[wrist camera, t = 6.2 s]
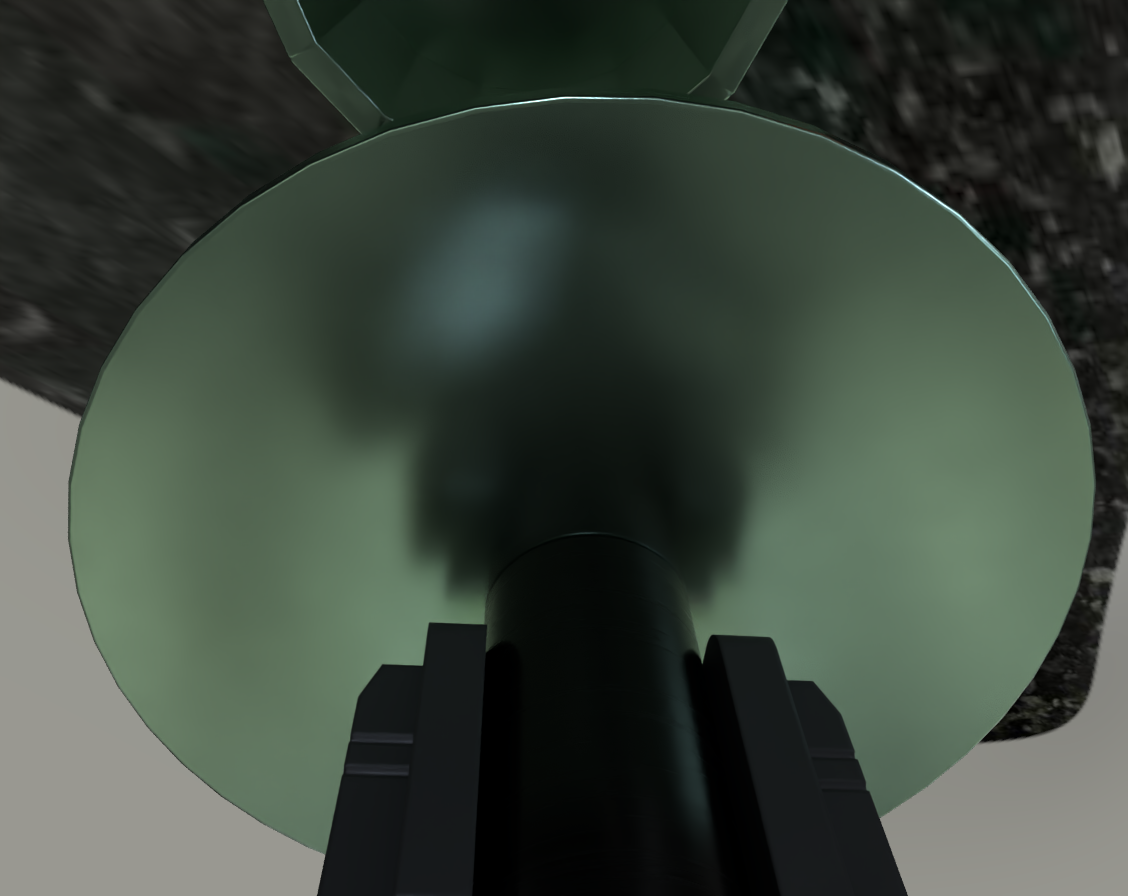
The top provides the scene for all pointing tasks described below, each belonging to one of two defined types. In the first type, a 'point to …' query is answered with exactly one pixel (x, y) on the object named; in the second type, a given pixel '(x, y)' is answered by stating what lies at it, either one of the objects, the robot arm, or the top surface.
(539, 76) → the pot
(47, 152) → the top surface
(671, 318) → the lid
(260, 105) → the top surface
